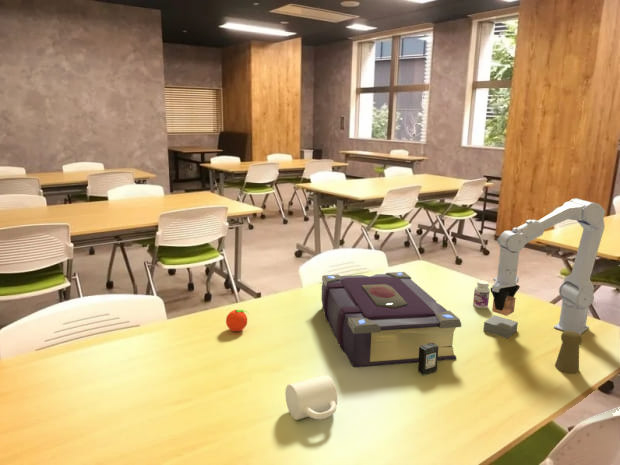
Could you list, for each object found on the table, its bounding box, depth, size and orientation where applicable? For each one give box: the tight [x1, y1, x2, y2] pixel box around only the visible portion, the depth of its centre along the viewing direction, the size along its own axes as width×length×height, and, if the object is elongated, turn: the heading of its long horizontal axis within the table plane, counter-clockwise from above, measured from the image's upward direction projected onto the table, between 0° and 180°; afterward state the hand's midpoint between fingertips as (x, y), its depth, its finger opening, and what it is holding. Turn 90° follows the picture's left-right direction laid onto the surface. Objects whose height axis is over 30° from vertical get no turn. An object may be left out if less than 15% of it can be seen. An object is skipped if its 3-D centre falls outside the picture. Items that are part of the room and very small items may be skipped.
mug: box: [284, 374, 338, 421], centre depth 107 cm, size 12×10×8 cm
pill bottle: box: [472, 280, 491, 309], centre depth 174 cm, size 5×5×10 cm
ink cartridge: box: [417, 343, 439, 376], centre depth 127 cm, size 5×2×8 cm, turn 117°
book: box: [321, 271, 462, 368], centre depth 152 cm, size 33×45×14 cm
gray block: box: [483, 314, 519, 340], centre depth 154 cm, size 8×8×4 cm
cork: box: [554, 331, 583, 375], centre depth 130 cm, size 6×6×11 cm
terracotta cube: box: [491, 296, 517, 317], centre depth 152 cm, size 5×5×5 cm
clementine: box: [225, 309, 248, 332], centre depth 151 cm, size 8×7×7 cm
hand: (502, 307), depth 152 cm, fingers closed on terracotta cube, 5 cm apart
